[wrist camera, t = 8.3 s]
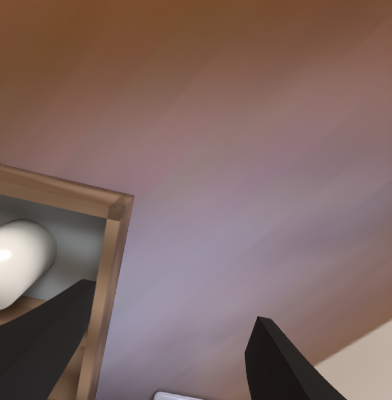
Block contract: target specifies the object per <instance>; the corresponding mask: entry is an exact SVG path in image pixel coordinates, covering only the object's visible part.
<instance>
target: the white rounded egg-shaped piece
mask: <svg viewBox="0 0 392 400" xmlns="http://www.w3.org/2000/svg"><path fill="white" fill-rule="evenodd" d="M56 257H57V244H56V241H55V238H54V236H53V235H52V233H51V232H50V231H49V230H48V229H47V228H46V227H45V226H43V225H42V224H40V223H39V222H36V221H34V220H30V219H15V220H12V221H10V222H8V223H6V224H4V225H2V226H0V310H1V309H4V308H6V307H8V306H10V305H11V304H12V303H13V302H14V301H15V300H16V299H17V298H18V297H20V296H21V295H22V294H23V293H24V292H25V291H26V290H27V289H28V288H29V287H30V286H31V285H32V284H33V283H34V282H35V281H36V280H37V279H38V278H39V277H40V276H41V275H42V274H43V273H44V272H45V271H47V270H48V269H49V268H50V267H51V266H52V264H53V263H54V262H55V260H56Z"/></svg>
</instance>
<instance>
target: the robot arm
mask: <svg viewBox="0 0 392 400" xmlns="http://www.w3.org/2000/svg"><path fill="white" fill-rule="evenodd" d="M96 283H97V282H96V281H91V280H86V279H81V280H80V281H78V282H76V283H75V284H73V285H72V286H70V287H69V288H67V289H66V290H64V291H62V292H61V293H59V294H58V295H56V296H54V297H53V298H51V299H49V300H48V301H46V302H45V303H43V304H41V305H39V306H38V307H36V308H34V309H32V310H30V311H29V312H27V313H25V314H23V315H21V316H19V317H17V318H15V319H13V320H11V321H9V322H7V323H5V324H2V325H0V400H47V398H48V397H49V395H50V393H51V392H52V390H53V388H54V387H55V385H56V383H57V382H58V380H59V378H60V377H61V375H62V373H63V372H64V370H65V368H66V366H67V365H68V363H69V361H70V360H71V358H72V356H73V355H74V353H75V351H76V350H77V348H78V346H79V344H80V342H81V340H82V338H83V336H84V334H85V331H86V329H87V327H88V325H89V322H90V318H91V312H92V306H93V301H94V295H95V289H96ZM245 364H246V373H247V380H248V385H249V390H250V394H251V399H252V400H347V399H345V398H344V397H343V396H342V395H341V394H340V393H339V392H338V391H337V390H336V389H335V388H334V387H333V386H331V385H330V383H328V382H327V381H326V380H325V379H324V378H323V376H321V374H319V372H318V371H317V370H316V369H315V368H314V367H313V366H312V365H311V364H310V363H309V362H308V361H307V360H306V358H305V357H304V356H303V355H302V354H301V353H300V352H299V351H298V349H297V348H296V347H295V346H294V345H293V344H292V342H291V341H290V340H289V339H288V338H287V337H286V335H285V334H284V333H283V332H282V331H281V330H280V328H279V327H278V326H277V325H276V324H275V323H274V322H273V321H272V320H271V319H269V318H264V317H260V316H258V317H257V320H256V322H255V325H254V328H253V331H252V334H251V337H250V339H249V342H248V345H247V348H246V351H245ZM153 400H202V399H197V398H192V397H187V396H181V395H176V394H171V393H166V392H157V393H155V395H154V399H153Z"/></svg>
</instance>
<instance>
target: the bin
mask: <svg viewBox="0 0 392 400" xmlns="http://www.w3.org/2000/svg"><path fill="white" fill-rule="evenodd" d="M133 201H134V196H133V195H129V194H125V193H121V192H116V191H112V190H108V189H104V188H99V187H95V186H91V185H87V184H82V183H78V182H74V181H70V180H65V179H61V178H57V177H53V176H48V175H44V174H40V173H36V172H32V171H27V170H23V169H19V168H15V167H10V166H6V165H2V164H0V226H2V225H4V224H6V223H8V222H10V221H12V220H15V219H30V220H34V221H36V222H39V223H40V224H42V225H43V226H45V227H46V228H47V229H48V230H49V231H50V232H51V233H52V235H53V236H54V238H55V241H56V244H57V257H56V260H55V262H54V263H53V264H52V266H51V267H50V268H49V269H48V270H47V271H45V272H44V273H43V274H42V275H41V276H40V277H39V278H38V279H37V280H36V281H35V282H34V283H33V284H32V285H31V286H30V287H29V288H28V289H27V290H26V291H25V292H24V293H23V294H22V295H21V296H20V297H18V298H17V299H16V300H15V301H14V302H13V303H12V304H11V305H10V306H8V307H6V308H4V309H1V310H0V325H2V324H5V323H7V322H9V321H11V320H13V319H15V318H17V317H19V316H21V315H23V314H25V313H27V312H29V311H30V310H32V309H34V308H36V307H38V306H39V305H41V304H43V303H45V302H46V301H48V300H49V299H51V298H53V297H54V296H56V295H58V294H59V293H61V292H62V291H64V290H66V289H67V288H69V287H70V286H72V285H73V284H75V283H76V282H78V281H80V280H81V279H86V280H91V281H96V282H97V283H96V289H95V295H94V301H93V306H92V312H91V318H90V322H89V325H88V327H87V329H86V331H85V334H84V336H83V338H82V340H81V342H80V344H79V346H78V348H77V350H76V351H75V353H74V355H73V356H72V358H71V360H70V361H69V363H68V365H67V366H66V368H65V370H64V372H63V373H62V375H61V377H60V378H59V380H58V382H57V383H56V385H55V387H54V388H53V390H52V392H51V393H50V395H49V397H48V398H47V400H95V396H96V390H97V385H98V380H99V375H100V370H101V365H102V360H103V355H104V349H105V344H106V339H107V334H108V329H109V324H110V319H111V314H112V308H113V303H114V298H115V293H116V288H117V283H118V278H119V272H120V267H121V262H122V257H123V252H124V247H125V242H126V237H127V231H128V226H129V221H130V216H131V211H132V206H133Z"/></svg>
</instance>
